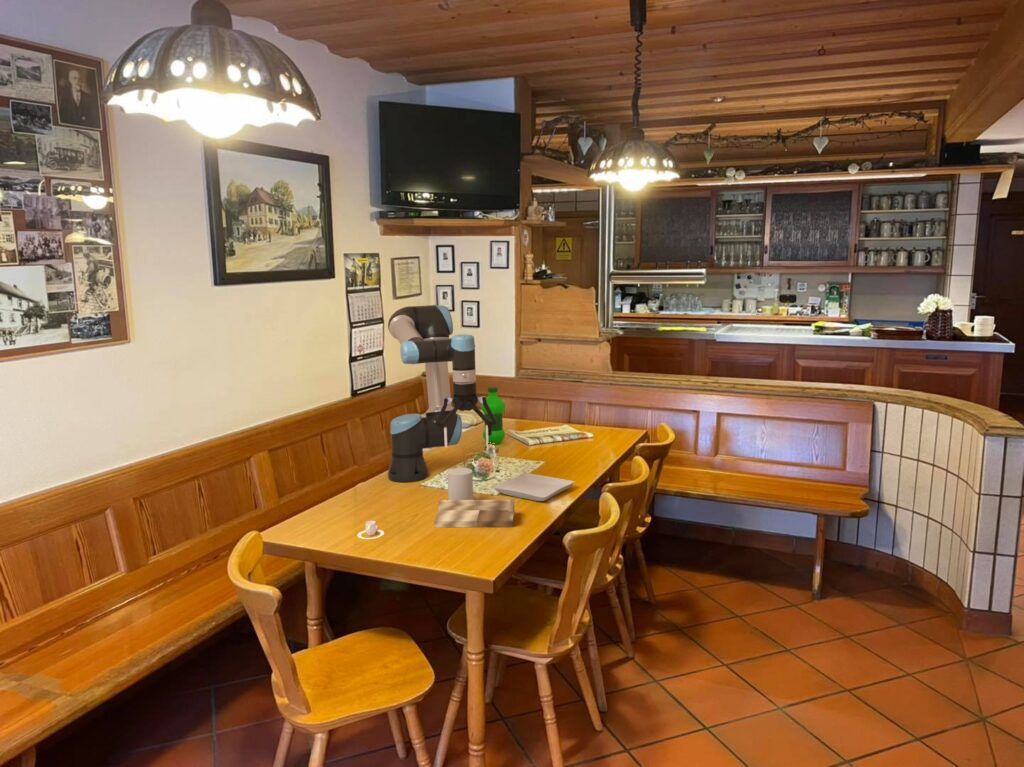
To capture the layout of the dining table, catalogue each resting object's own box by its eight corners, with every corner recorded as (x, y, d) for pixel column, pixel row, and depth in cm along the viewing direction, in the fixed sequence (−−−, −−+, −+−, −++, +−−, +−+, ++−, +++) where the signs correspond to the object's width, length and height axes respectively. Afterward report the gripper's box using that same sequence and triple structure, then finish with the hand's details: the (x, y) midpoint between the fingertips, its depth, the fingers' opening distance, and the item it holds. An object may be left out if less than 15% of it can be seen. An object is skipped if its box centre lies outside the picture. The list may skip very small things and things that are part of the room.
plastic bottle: (505, 445, 323) (504, 389, 319) (481, 446, 324) (479, 389, 320) (506, 440, 333) (504, 385, 329) (483, 440, 334) (481, 386, 329)
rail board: (434, 527, 225) (433, 511, 224) (439, 515, 236) (438, 500, 235) (513, 527, 224) (512, 511, 223) (514, 514, 235) (514, 499, 234)
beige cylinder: (469, 501, 249) (467, 466, 247) (476, 508, 242) (475, 473, 240) (445, 504, 246) (444, 469, 244) (452, 512, 239) (451, 476, 237)
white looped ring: (368, 528, 227) (367, 516, 226) (390, 531, 224) (390, 518, 223) (352, 538, 218) (351, 525, 218) (375, 542, 216) (374, 528, 215)
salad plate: (576, 489, 260) (576, 480, 260) (544, 506, 243) (544, 496, 242) (525, 480, 272) (525, 471, 272) (492, 496, 255) (491, 486, 254)
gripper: (425, 385, 237) (428, 449, 240) (503, 382, 237) (504, 447, 241) (426, 381, 244) (429, 444, 247) (502, 379, 245) (504, 441, 248)
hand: (466, 446), depth 244 cm, fingers open, 13 cm apart
